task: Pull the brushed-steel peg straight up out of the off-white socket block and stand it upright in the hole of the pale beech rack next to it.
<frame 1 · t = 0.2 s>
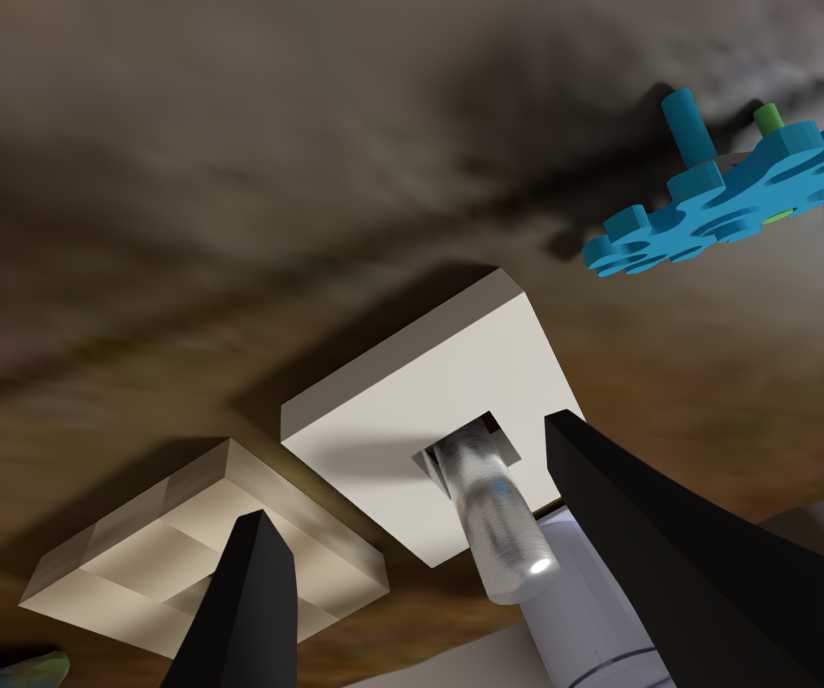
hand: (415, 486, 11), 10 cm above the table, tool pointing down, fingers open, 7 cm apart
steel peg: (482, 489, 21), in the socket block
beech rack: (234, 555, 26), on the table
socket block: (453, 424, 25), on the table
blue irregular piece: (661, 182, 20), on the table
decorative rock: (17, 680, 28), on the table
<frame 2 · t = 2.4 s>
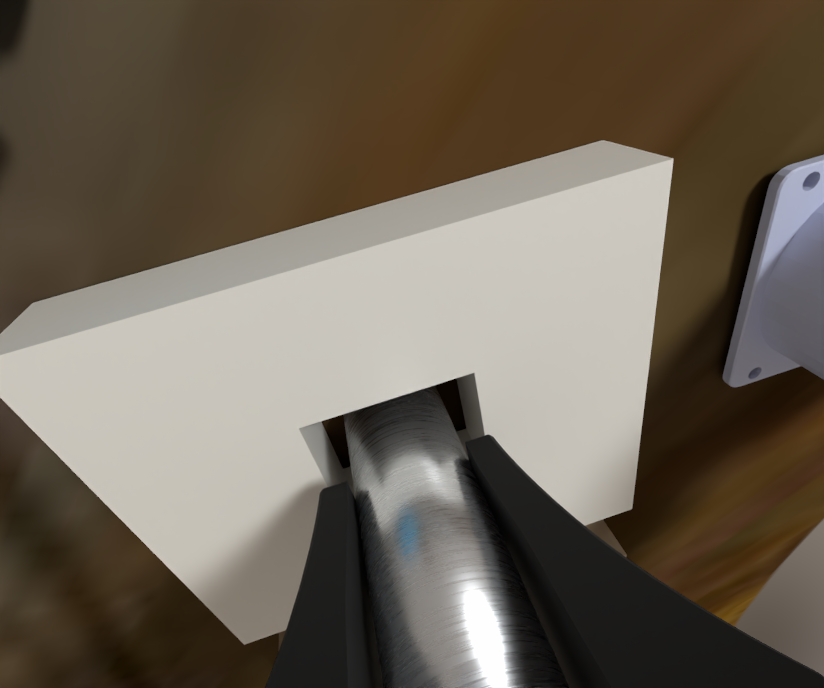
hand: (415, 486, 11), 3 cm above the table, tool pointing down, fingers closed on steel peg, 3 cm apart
steel peg: (425, 523, 10), in the socket block, touching gripper
beech rack: (460, 619, 23), on the table
socket block: (390, 401, 14), on the table
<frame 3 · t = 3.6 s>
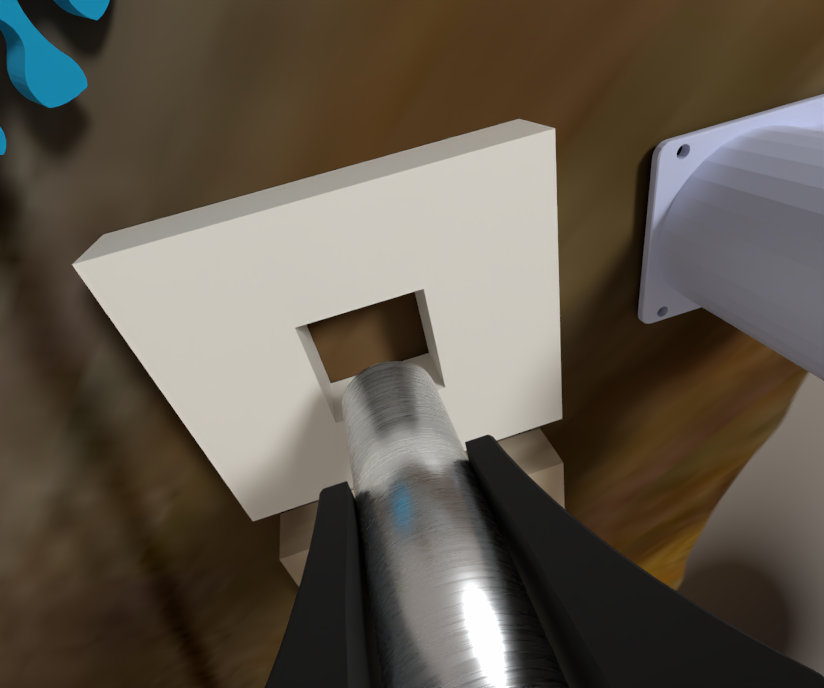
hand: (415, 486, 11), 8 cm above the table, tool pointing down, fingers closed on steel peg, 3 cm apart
steel peg: (425, 522, 10), point 9 cm above the table, touching gripper
beech rack: (433, 535, 27), on the table
socket block: (366, 325, 18), on the table
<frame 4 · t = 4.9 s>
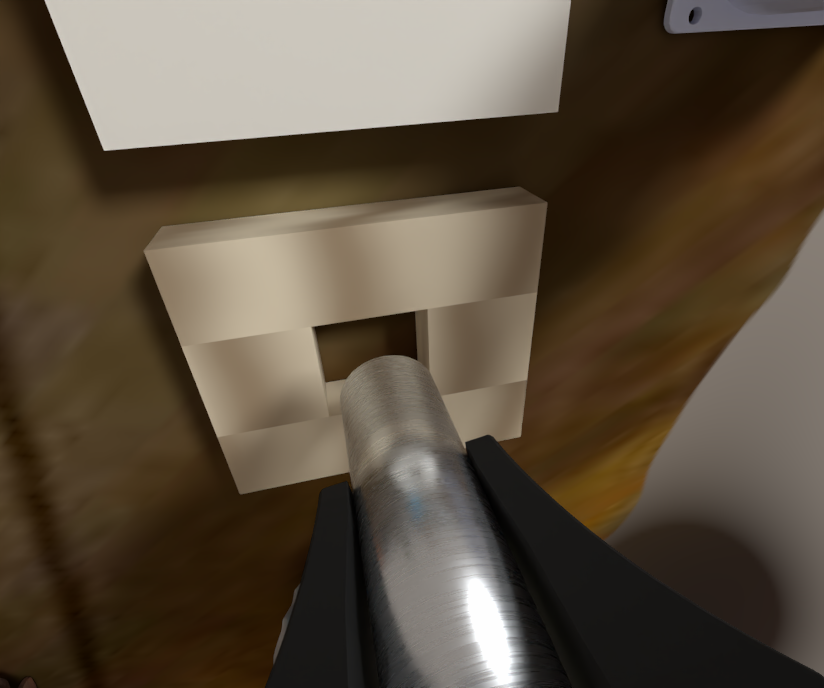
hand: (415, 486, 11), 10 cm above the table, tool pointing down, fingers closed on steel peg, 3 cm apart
steel peg: (422, 514, 10), point 12 cm above the table, touching gripper
beech rack: (367, 335, 21), on the table
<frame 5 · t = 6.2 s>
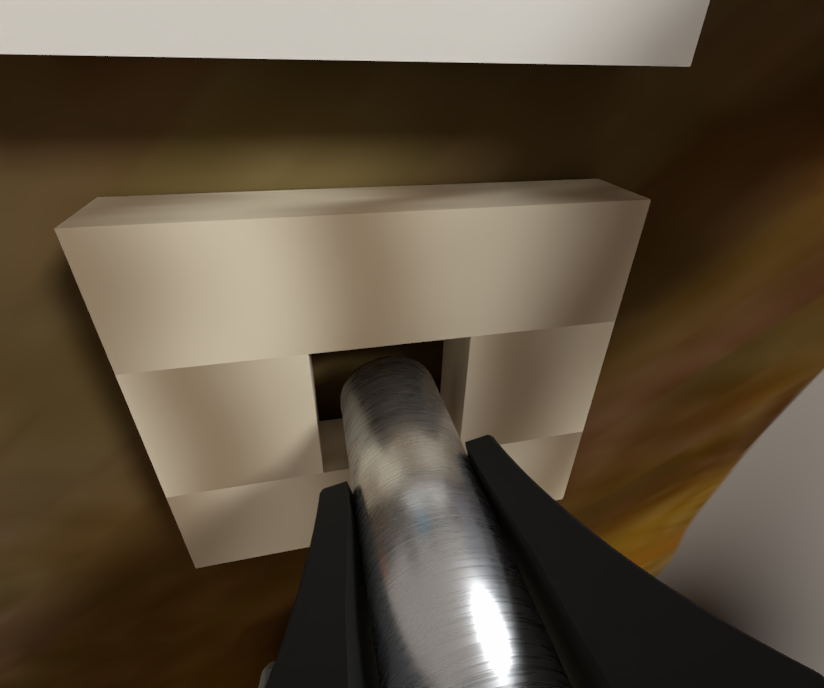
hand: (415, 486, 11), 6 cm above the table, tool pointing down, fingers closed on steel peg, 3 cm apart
steel peg: (422, 515, 10), point 7 cm above the table, touching gripper
beech rack: (379, 362, 16), on the table
when the fingers open (4 cm above the table, at t = 7.2 s): steel peg stays where it is, resting in beech rack.
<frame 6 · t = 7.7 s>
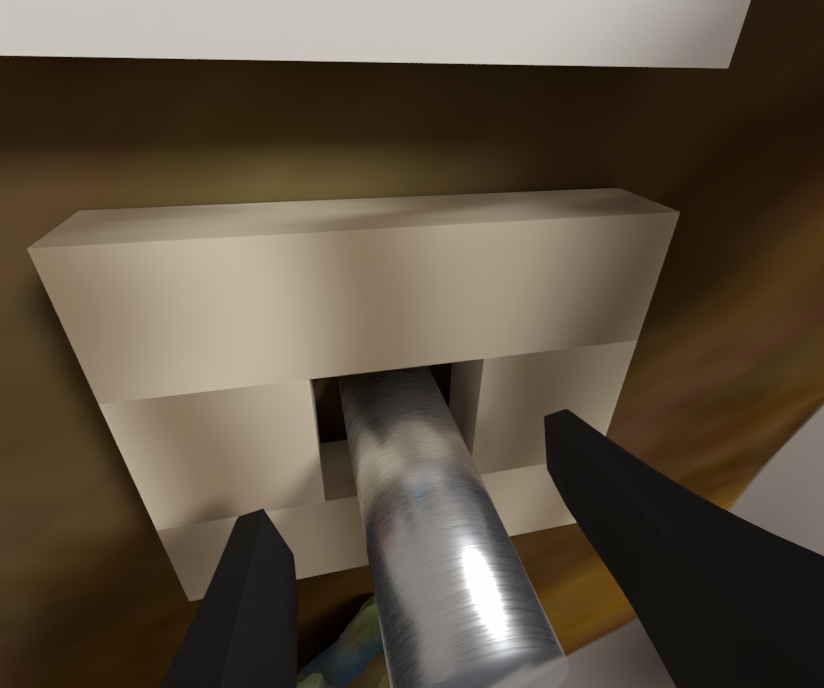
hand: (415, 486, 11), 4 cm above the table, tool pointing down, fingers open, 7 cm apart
steel peg: (418, 486, 11), in the beech rack
beech rack: (384, 382, 15), on the table
decorative rock: (389, 632, 24), on the table
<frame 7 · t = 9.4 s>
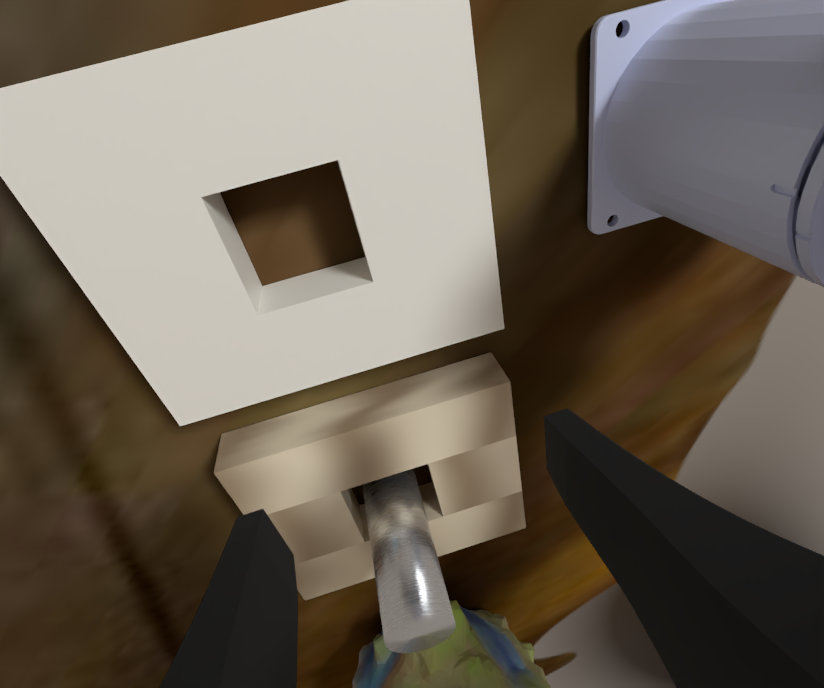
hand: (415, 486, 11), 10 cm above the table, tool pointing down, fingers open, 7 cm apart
steel peg: (400, 536, 22), in the beech rack
beech rack: (387, 469, 26), on the table
socket block: (295, 220, 17), on the table
decorative rock: (437, 603, 36), on the table
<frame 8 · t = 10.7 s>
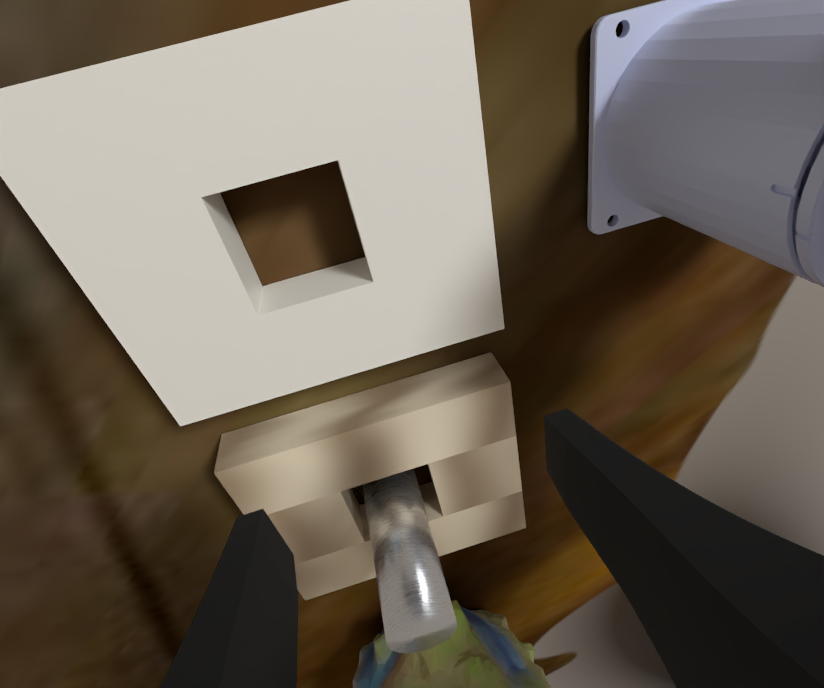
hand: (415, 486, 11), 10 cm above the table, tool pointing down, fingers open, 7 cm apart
steel peg: (401, 537, 22), in the beech rack
beech rack: (387, 469, 26), on the table
socket block: (295, 220, 17), on the table
decorative rock: (437, 603, 36), on the table
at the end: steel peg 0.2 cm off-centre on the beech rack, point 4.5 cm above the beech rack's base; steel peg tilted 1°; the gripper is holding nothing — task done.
